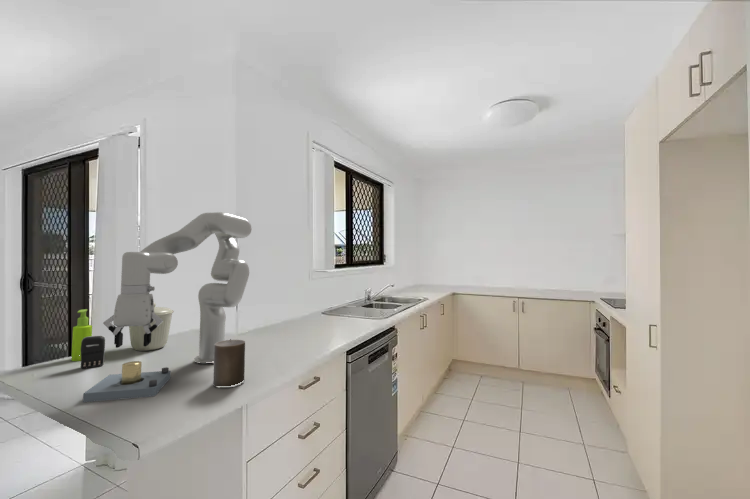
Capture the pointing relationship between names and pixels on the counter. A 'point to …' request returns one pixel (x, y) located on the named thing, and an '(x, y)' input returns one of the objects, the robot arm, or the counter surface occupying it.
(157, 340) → the canister
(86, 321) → the soap dispenser
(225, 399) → the counter surface
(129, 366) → the brass cylinder
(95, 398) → the plate
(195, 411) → the counter surface
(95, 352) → the battery charger
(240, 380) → the pillar candle
